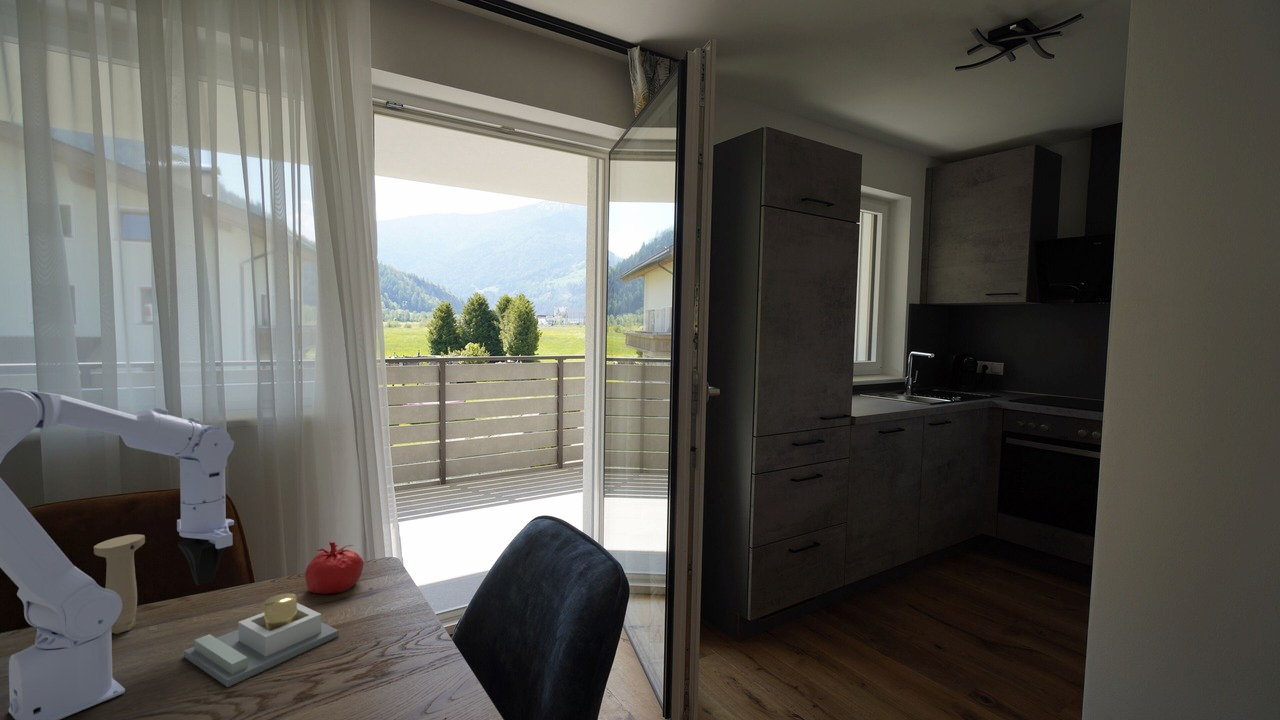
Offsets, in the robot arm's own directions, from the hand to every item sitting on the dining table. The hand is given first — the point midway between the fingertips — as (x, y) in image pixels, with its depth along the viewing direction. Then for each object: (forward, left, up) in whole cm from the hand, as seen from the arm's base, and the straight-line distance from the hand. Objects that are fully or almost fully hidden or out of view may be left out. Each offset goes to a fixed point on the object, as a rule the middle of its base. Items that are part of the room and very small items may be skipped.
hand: (204, 582), depth 91 cm
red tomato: (+22, +1, -10) cm, 24 cm away
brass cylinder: (+6, -11, -8) cm, 15 cm away
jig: (+4, -10, -9) cm, 14 cm away
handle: (-6, +15, -10) cm, 19 cm away
